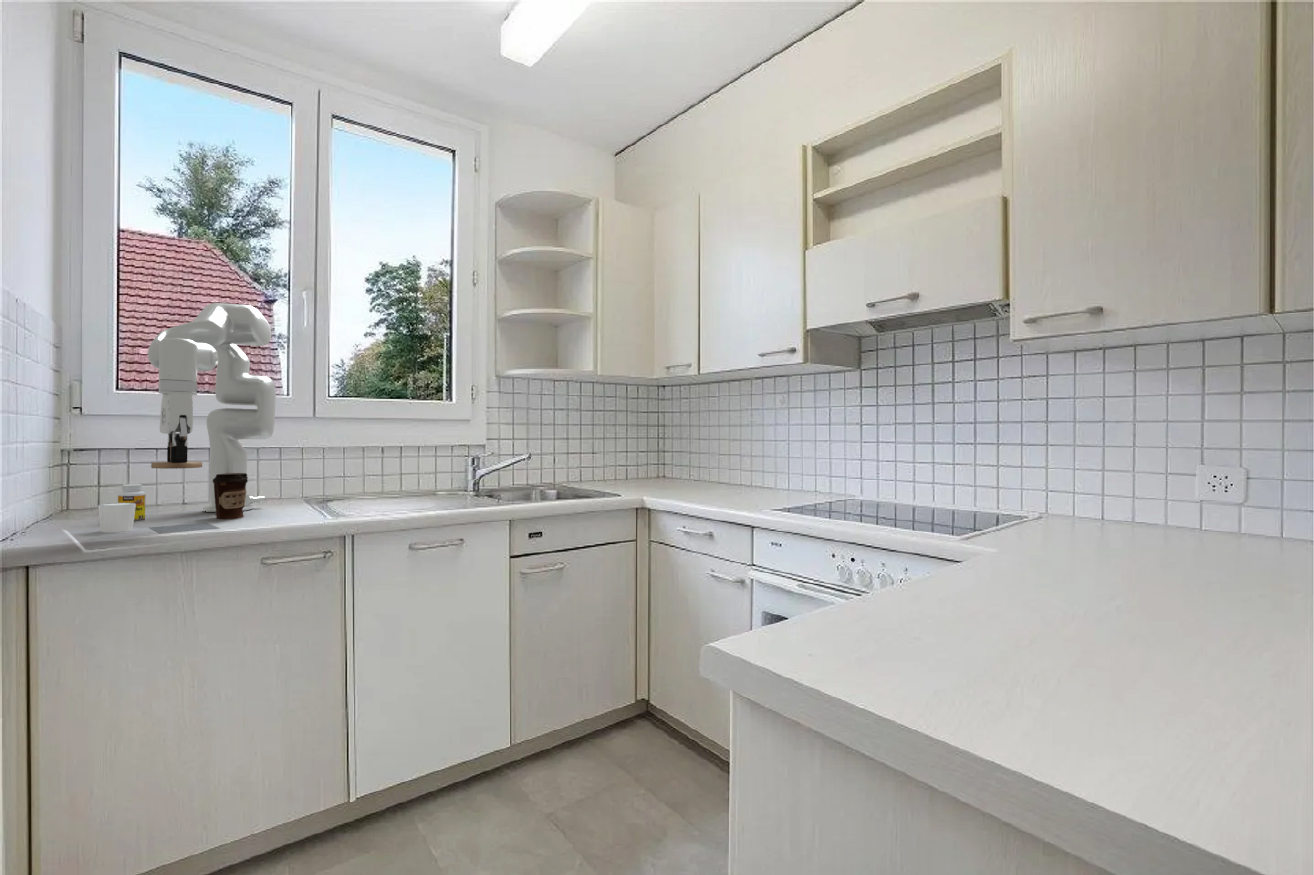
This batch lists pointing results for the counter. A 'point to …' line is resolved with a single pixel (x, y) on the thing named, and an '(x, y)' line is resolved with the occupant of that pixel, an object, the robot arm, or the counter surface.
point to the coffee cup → (230, 495)
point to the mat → (183, 528)
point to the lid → (175, 464)
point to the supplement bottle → (134, 499)
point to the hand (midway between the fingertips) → (177, 461)
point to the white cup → (116, 517)
